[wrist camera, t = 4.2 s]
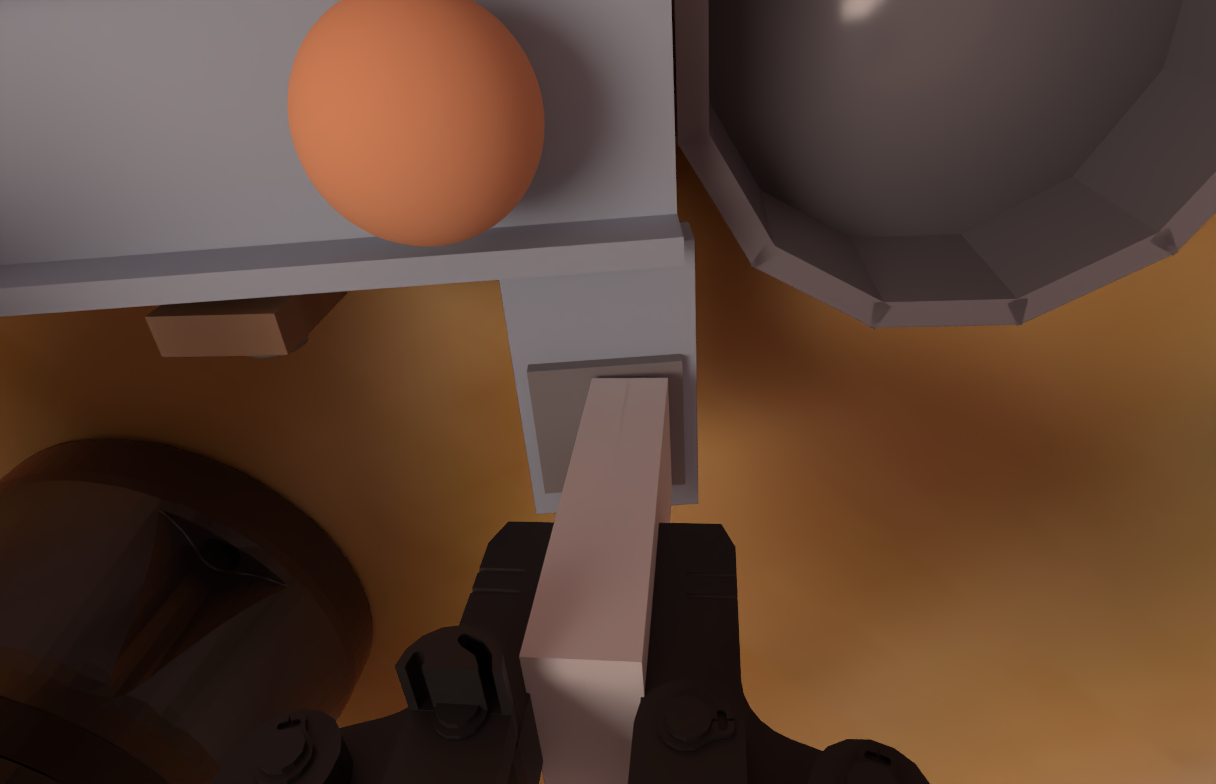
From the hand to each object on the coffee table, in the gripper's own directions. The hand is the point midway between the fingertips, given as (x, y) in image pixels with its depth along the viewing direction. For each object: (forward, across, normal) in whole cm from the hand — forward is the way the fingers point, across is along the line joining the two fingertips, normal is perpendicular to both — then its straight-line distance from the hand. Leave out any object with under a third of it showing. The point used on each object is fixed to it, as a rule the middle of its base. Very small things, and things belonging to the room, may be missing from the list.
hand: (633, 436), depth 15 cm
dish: (+7, +6, +6) cm, 12 cm away
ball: (-1, -2, +6) cm, 7 cm away
